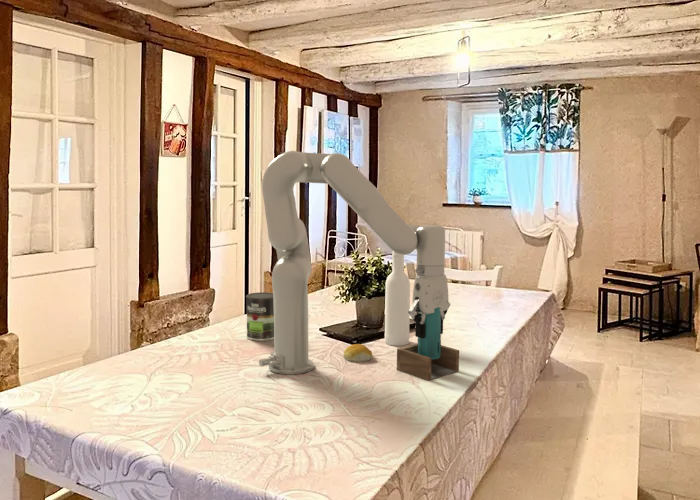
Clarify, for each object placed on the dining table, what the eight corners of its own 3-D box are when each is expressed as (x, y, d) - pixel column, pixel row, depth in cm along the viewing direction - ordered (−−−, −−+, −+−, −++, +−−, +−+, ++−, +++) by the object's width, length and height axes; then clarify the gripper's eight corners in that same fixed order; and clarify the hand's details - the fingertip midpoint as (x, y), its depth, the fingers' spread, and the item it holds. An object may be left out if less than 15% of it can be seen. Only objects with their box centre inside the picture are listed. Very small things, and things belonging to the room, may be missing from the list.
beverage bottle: (440, 365, 170) (441, 293, 167) (415, 364, 171) (416, 292, 169) (441, 358, 176) (442, 288, 174) (418, 357, 178) (418, 287, 175)
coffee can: (269, 342, 202) (269, 299, 200) (240, 339, 205) (240, 297, 203) (283, 334, 211) (282, 293, 210) (255, 331, 215) (255, 291, 213)
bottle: (380, 343, 201) (381, 250, 197) (390, 338, 207) (391, 248, 204) (403, 347, 197) (405, 252, 193) (413, 341, 204) (414, 249, 200)
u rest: (427, 380, 166) (428, 358, 165) (396, 369, 175) (397, 348, 174) (458, 371, 174) (459, 350, 173) (427, 361, 183) (427, 341, 182)
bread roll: (366, 353, 191) (367, 340, 191) (374, 361, 183) (374, 348, 182) (340, 354, 190) (340, 341, 189) (347, 363, 181) (347, 350, 180)
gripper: (418, 276, 162) (416, 343, 164) (462, 269, 173) (460, 332, 175) (397, 272, 168) (397, 337, 170) (441, 266, 179) (440, 327, 181)
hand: (429, 334), depth 173 cm, fingers closed on beverage bottle, 6 cm apart
